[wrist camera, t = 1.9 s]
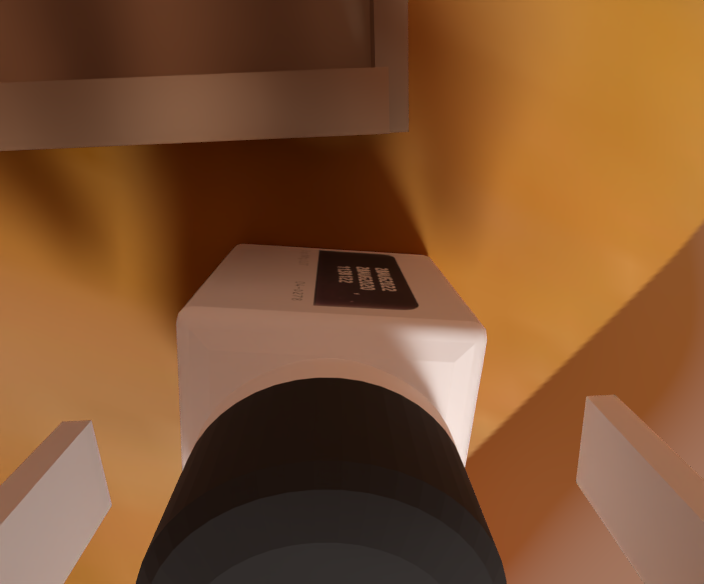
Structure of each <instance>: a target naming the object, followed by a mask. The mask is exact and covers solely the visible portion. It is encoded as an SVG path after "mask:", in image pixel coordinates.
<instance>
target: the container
mask: <svg viewBox="0 0 704 584" xmlns="http://www.w3.org/2000/svg"><path fill="white" fill-rule="evenodd" d="M176 329H177V353H178V378H179V402H180V426H181V451H182V473H181V475H180V478H179V480H178V482H177V484H176V487H175V489H174V491H173V494H172V496H171V498H170V500H169V503H168V505H167V507H166V509H165V512H164V514H163V516H162V519H161V521H160V523H159V525H158V528H157V530H156V532H155V534H154V537H153V539H152V541H151V543H150V546H149V548H148V550H147V553H146V555H145V557H144V559H143V562H142V564H141V568H140V571H139V574H138V578H137V581H136V584H506V577H505V573H504V569H503V565H502V561H501V558H500V556H499V554H498V551H497V548H496V546H495V543H494V541H493V538H492V536H491V533H490V531H489V528H488V526H487V523H486V521H485V518H484V516H483V513H482V510H481V508H480V505H479V503H478V500H477V498H476V495H475V493H474V490H473V488H472V485H471V483H470V480H469V478H468V475H467V473H466V470H465V464H466V459H467V453H468V447H469V441H470V436H471V430H472V424H473V418H474V413H475V407H476V401H477V395H478V389H479V384H480V378H481V372H482V366H483V361H484V355H485V349H486V343H487V335H486V329H485V328H484V326H483V325H482V324H481V323H480V321H479V320H478V319H477V317H476V316H475V315H474V314H473V312H472V311H471V310H470V309H469V307H468V306H467V305H466V303H465V302H464V301H463V300H462V298H461V297H460V296H459V294H458V293H457V292H456V291H455V289H454V288H453V287H452V285H451V284H450V283H449V282H448V280H447V279H446V278H445V276H444V275H443V274H442V273H441V271H440V270H439V269H438V267H437V266H436V265H435V264H434V262H433V261H432V260H431V259H430V257H428V256H425V255H415V254H399V253H383V252H367V251H351V250H335V249H320V248H304V247H288V246H272V245H256V244H238V245H236V246H235V247H234V248H233V249H232V250H231V252H230V253H229V254H228V255H227V256H226V257H225V259H224V260H223V261H222V262H221V263H220V265H219V266H218V267H217V268H216V269H215V270H214V272H213V273H212V274H211V275H210V276H209V278H208V279H207V280H206V281H205V282H204V283H203V285H202V286H201V287H200V288H199V289H198V291H197V292H196V293H195V294H194V295H193V296H192V298H191V299H190V300H189V301H188V302H187V304H186V305H185V306H184V307H183V308H182V309H181V311H180V312H179V313H178V317H177V321H176Z"/></svg>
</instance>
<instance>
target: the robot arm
mask: <svg viewBox="0 0 704 584" xmlns="http://www.w3.org/2000/svg"><path fill="white" fill-rule="evenodd" d="M576 483H577V484H578V486H579V487H580V489H581V490H582V492H583V493H584V495H585V496H586V497H587V499H588V501H589V502H590V504H591V505H592V506H593V508H594V510H595V511H596V513H597V514H598V515H599V517H600V519H601V520H602V521H603V523H604V524H605V526H606V527H607V529H608V530H609V532H610V533H611V535H612V536H613V538H614V539H615V541H616V542H617V544H618V545H619V547H620V548H621V550H622V551H623V553H624V554H625V556H626V557H627V559H628V560H629V562H630V563H631V565H632V566H633V568H634V569H635V571H636V572H637V574H638V575H639V577H640V578H641V579H642V581H643V582H644V584H704V479H703V478H702V477H701V476H699V475H698V474H697V473H696V472H695V471H694V470H693V469H692V468H691V467H690V466H689V465H688V464H687V463H686V462H685V461H684V460H683V459H682V458H681V457H680V456H679V455H678V454H676V453H675V452H674V451H673V450H672V449H671V448H670V447H669V446H668V445H667V444H666V443H665V442H664V441H663V440H662V439H661V438H660V437H659V436H658V435H657V434H656V433H654V432H653V431H652V430H651V429H650V428H649V427H648V426H647V425H646V424H645V423H644V422H643V421H642V420H641V419H640V418H639V417H638V416H637V415H636V414H635V413H634V412H633V411H632V410H630V409H629V408H628V407H627V406H626V405H625V404H624V403H623V402H622V401H621V400H620V399H619V398H618V397H617V396H616V395H603V396H587V397H586V405H585V413H584V421H583V429H582V438H581V445H580V454H579V462H578V470H577V479H576ZM111 506H112V504H111V499H110V495H109V491H108V487H107V483H106V479H105V475H104V470H103V466H102V462H101V458H100V454H99V450H98V446H97V441H96V437H95V433H94V429H93V425H92V421H91V420H88V421H67V422H62V423H61V424H60V425H59V426H58V427H57V428H56V429H55V430H54V431H53V432H52V433H51V434H50V435H49V436H48V437H47V438H46V439H45V440H44V441H43V442H42V443H41V444H40V445H39V446H38V447H37V448H36V450H35V451H34V452H33V453H32V454H31V455H30V456H29V457H28V458H27V459H26V460H25V461H24V462H23V463H22V464H21V465H20V466H19V467H18V468H17V469H16V470H15V471H14V472H13V473H12V474H11V475H10V476H9V477H8V479H7V480H6V481H5V482H4V483H3V484H2V485H1V486H0V584H64V582H65V581H66V579H67V577H68V576H69V574H70V572H71V571H72V569H73V568H74V566H75V564H76V563H77V561H78V559H79V558H80V556H81V555H82V553H83V551H84V550H85V548H86V546H87V545H88V543H89V542H90V540H91V538H92V537H93V535H94V533H95V532H96V530H97V529H98V527H99V525H100V524H101V522H102V520H103V519H104V517H105V516H106V514H107V512H108V511H109V509H110V508H111Z"/></svg>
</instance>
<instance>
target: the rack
mask: <svg viewBox="0 0 704 584" xmlns="http://www.w3.org/2000/svg"><path fill="white" fill-rule="evenodd" d="M392 132H409V100H408V0H0V151H11V150H34V149H56V148H78V147H101V146H123V145H145V144H167V143H190V142H212V141H234V140H257V139H279V138H301V137H323V136H346V135H368V134H390V133H392Z"/></svg>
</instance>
